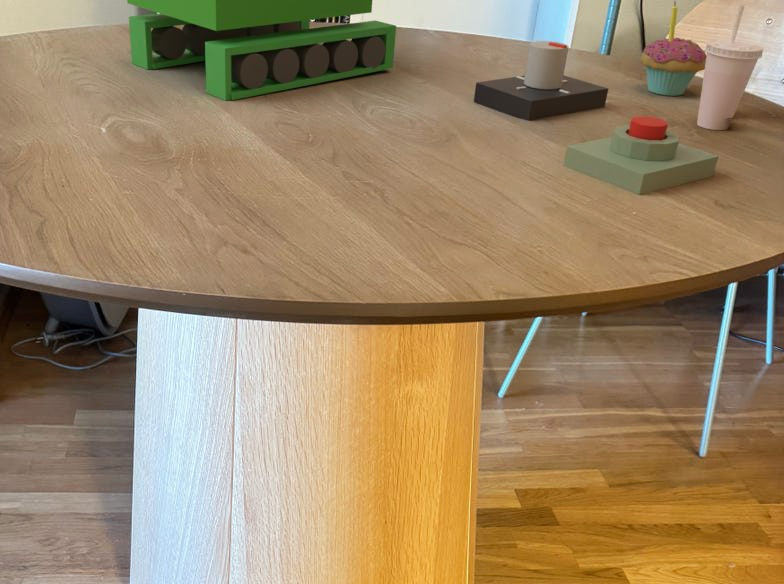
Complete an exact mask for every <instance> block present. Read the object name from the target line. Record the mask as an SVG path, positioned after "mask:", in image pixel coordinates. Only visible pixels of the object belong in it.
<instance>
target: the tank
mask: <svg viewBox="0 0 784 584" xmlns="http://www.w3.org/2000/svg"><path fill="white" fill-rule="evenodd" d="M126 2H127V4H128V5H129V4H130V5H131V6H132V5H133V6H135V7H138V8H140V9H141V8H142V9H144V10H148V11H150V12H153V13H152V14H143V15H142V14H140V15H132V16H128V25H129V26H128V27H129V38H130V40H129V41H130V53H131V54H130V55H131V56H130V57H131V64H133V65H135V66H137V67H140V68H143V69H145V70H156V69H163V68H170V67H176V66H182V65H188V64H193V63H201V62H205V93H206V94H208V95H211V96H213V97H215V98H218V99H221V100H223V101H229V100H230V101H231V100H232V101H235V100H240V99H246V98H250V97H255V96H259V95H265V94H271V93H275V92H276V93H277V92H281V91H285V90H289V89H291V90H292V89H295V88H300V87H305V86H310V85H316V84H321V83H327V82H330V81H336V80H340V79H346V78H350V77H356V76H360V75H365V74H371V73H376V72H380V71H385V70H391V69H394V57H395V47H396V35H397V25H396V24H391V23H387V22H383V21H379V20H369V21H368V20H367V21H360V22H353V23H343V24H336V25H328V26H321V27H313V28H312V27H311V28H310V25H311V24H310V22H311V21H313V20H321V19H329V18H330V19H331V18H338V17H346V16H353V15H362V14H371V13H372V12H373V11H372V9H373V0H126ZM177 26H182V28H180V27H177ZM290 48H292V49H290ZM259 52H261V54H260V53H259ZM153 53H154V55H153Z"/></svg>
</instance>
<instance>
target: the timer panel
mask: <svg viewBox="0 0 784 584" xmlns="http://www.w3.org/2000/svg"><path fill="white" fill-rule="evenodd" d="M524 78H525V75H520V76H519V75H517V76H513V77H512V76H511V77H505V78H497V79H491V80H484V81H476V83H475V89H474V96H473V102H474V103H477V104H479V105H482V106H485V107H488V108H489V109H493V110H496V111H499V112H501V113H505V114H507V115H510V116H513V117H516V118H519V119H521V120H525V121H528V122H530V121H536V120H542V119H547V118H552V117H553V118H554V117H557V116H564V115H569V114H576V113H581V112H586V111H587V112H588V111H592V110H597V109H603V108H605V107H606V102H607V98H608V93H609V88H608V87H605V86H601V85H598V84H595V83H592V82H587V81H584V80H581V79H578V78H574V77H571V76H568V75H565V74H564V75H563V81H562V86H561V88H558V89H551V90H547V89H537V88H532V87H529V86H526V85H525V84H524Z"/></svg>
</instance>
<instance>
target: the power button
mask: <svg viewBox="0 0 784 584" xmlns="http://www.w3.org/2000/svg"><path fill="white" fill-rule="evenodd" d="M629 125H630V128H629V132H628V135H630V136H633V137H635V138H639V139H645V140H664V137H665V133H666V130H668V125H669V123H668V122H667V121H666V120H664V119H662V118H658V117H653V116H647V115H646V116H645V115H642V116H641V115H639V116H634V117H632V118H631V120H630V124H629Z"/></svg>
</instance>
